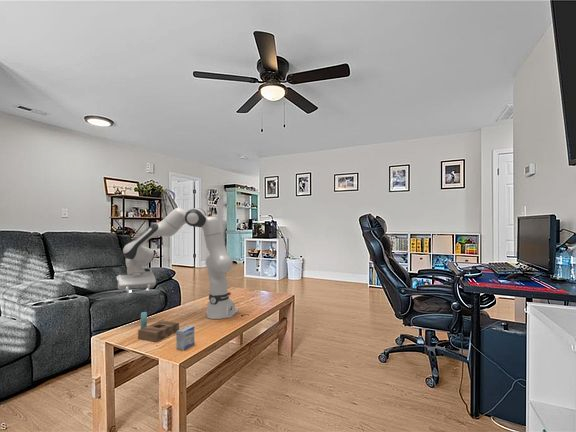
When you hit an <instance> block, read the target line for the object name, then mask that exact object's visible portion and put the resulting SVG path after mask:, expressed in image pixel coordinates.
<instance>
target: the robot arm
mask: <svg viewBox="0 0 576 432" xmlns="http://www.w3.org/2000/svg"><path fill="white" fill-rule="evenodd" d="M185 224H187V225H188V226H190V227H193V228H202V232H203V236H204V242H205V246H206V249H207V251H208V252H209V255H208V256H207V257H206V259H205V266H206V268H207V274H208V278H209V279H208V280H209V294H208V301H207V309H206V312H205V316H206V318H208V319H210V320H211V319H213V320H219V319H229V318H232V317H234V315H236V314H237V313H238V312H239V308H236V305H235V301H233V300H232V299H231V298H230V296H231V295H232V293H231V292H230V291H228V278H227V276H226V273H229V272H230V271H231V270H232V269H233V266H234V262H233V260H232V258H231V257H230V256H229V253H228V251H227V250H228V249H227V247H226V245H225V241H224V237H223V233H222V227H221V225H220V222H219V219H218V217H217V216H207V213H206V212H205V210H204V209H202V208H199V207H195V208H190V209H189V210H185V208H184V209H183V208H182V207H176V208H174V209H173V210H172V211H171V212H169V213H168V214H167V215H166V216H165V217H164V218H163V219H162V220H161V221H159V222H157V223H154V224H151V225H150V226H148V227H147V228H146V229H144V230H143V231H142V232H141V233H140V234H139V235H137V237H135V238H133V240H131V241H130V242H127V243H126V244H125V245H124V247H123V248H122V255H123V257H124V259H125V267H126V273H124V274H119V275H117V276H116V277H115V278H116V281H117V289H118V290H125V292H126V293H127V295H131V294H132V289H134V288H135V289H136V288H137V289H138V288H145V287H146V289H145V293H149V292H150V287H154V286H155V285H156V283H157V279H156V277H155V276H156V275H155V274H154V273H153V270H152V268H146V267H144V266H147V265H148V264H150V263H152V261H154V259H155V251H154V249H152V248H149V247H147V246H143V245H145V243H146V242H148V241H149V240H150V239H152V238H154V237H167V238H168V237H172V236H174V235H176V234H177V233H178V231H179V230H180V229H181V228H183V226H184V225H185Z"/></svg>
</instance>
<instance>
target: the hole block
mask: <svg viewBox="0 0 576 432" xmlns="http://www.w3.org/2000/svg"><path fill="white" fill-rule="evenodd" d="M179 329H180V322H176V321H171V320H165V319H164V320H163V319H161V320H159V321H157V322H155V323H152V324H149V325H147V327H144V328H142V329H141V328H140V329H138V331H137V339H138V340H142V341H148V342H154V343H157V342H160V341H161V340H163V339H166V338H168V337H169V336H171V335H174V334H176V331H177V330H179Z"/></svg>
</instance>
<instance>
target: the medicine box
mask: <svg viewBox="0 0 576 432" xmlns="http://www.w3.org/2000/svg"><path fill="white" fill-rule="evenodd" d="M175 336H176V337H175V338H176V340H175V342H176V344H175V346H176V347H175V348H176V350H181V351H185V350H187V349H188V348H190V347H191V346H193V345H195V326H194V325H185V326H183V327H181V328H179V330H177V331H176V333H175Z"/></svg>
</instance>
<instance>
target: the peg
mask: <svg viewBox="0 0 576 432" xmlns="http://www.w3.org/2000/svg"><path fill="white" fill-rule="evenodd" d="M147 326H148V311H142V312H141V313H140V329H142V328H144V327H147Z"/></svg>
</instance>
